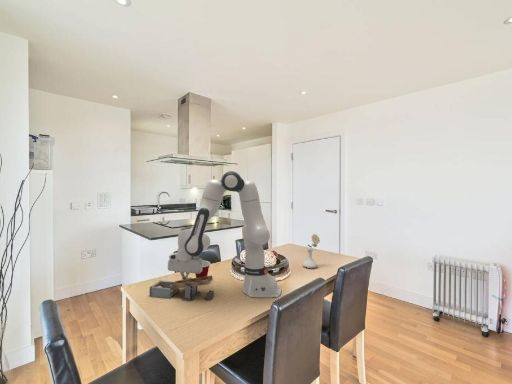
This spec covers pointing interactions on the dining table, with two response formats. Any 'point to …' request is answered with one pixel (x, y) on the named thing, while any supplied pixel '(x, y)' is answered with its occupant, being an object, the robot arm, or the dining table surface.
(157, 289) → the grey open box
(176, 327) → the dining table surface
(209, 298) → the rest block
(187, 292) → the fulcrum
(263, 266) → the robot arm
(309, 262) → the flower in vase
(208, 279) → the lever
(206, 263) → the plastic cup
